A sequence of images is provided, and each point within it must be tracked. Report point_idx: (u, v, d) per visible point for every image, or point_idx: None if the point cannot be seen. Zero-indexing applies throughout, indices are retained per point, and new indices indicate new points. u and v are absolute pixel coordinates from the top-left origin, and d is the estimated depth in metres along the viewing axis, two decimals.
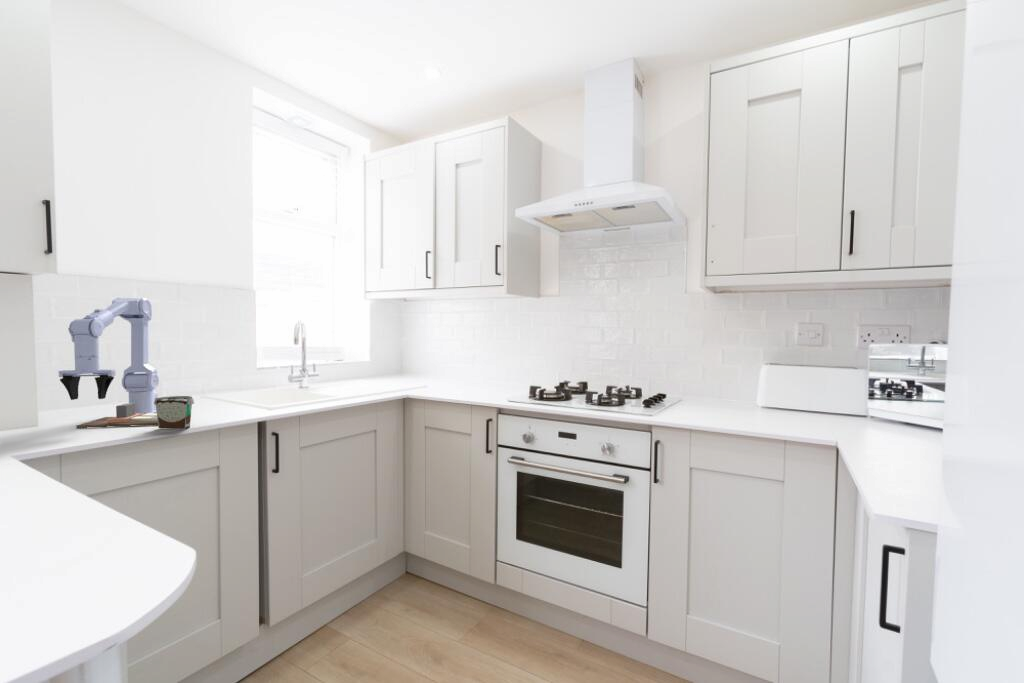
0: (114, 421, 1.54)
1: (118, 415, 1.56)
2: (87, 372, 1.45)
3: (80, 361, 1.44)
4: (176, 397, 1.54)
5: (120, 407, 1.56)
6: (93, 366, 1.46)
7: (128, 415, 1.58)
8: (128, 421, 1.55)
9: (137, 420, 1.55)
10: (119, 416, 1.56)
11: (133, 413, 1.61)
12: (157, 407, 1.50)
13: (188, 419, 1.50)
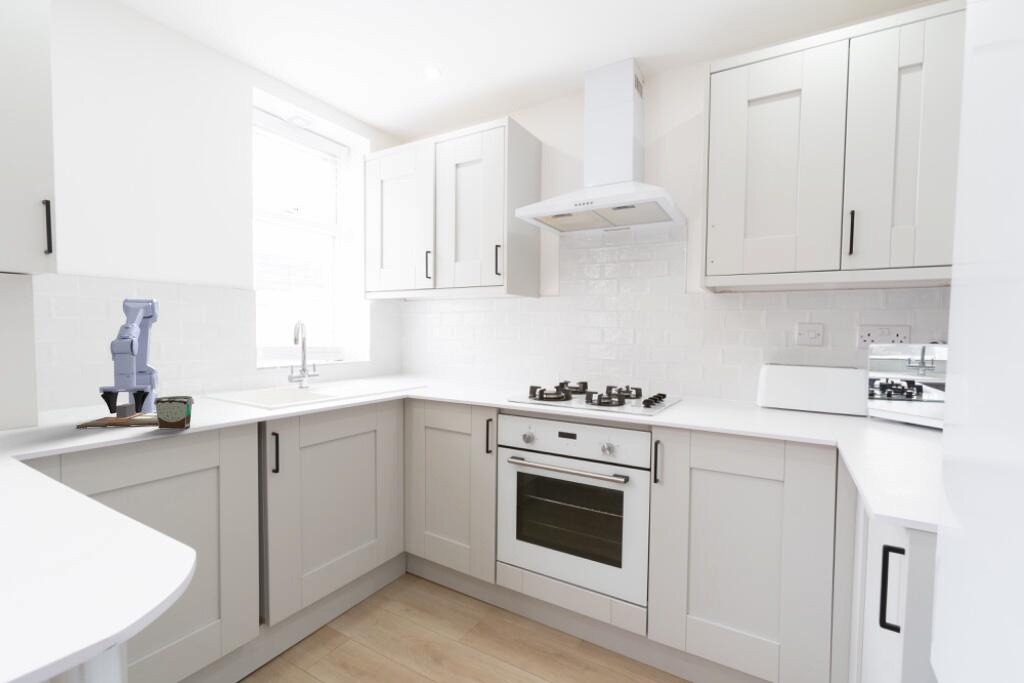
0: (114, 421, 1.54)
1: (118, 415, 1.56)
2: (126, 388, 1.56)
3: (119, 378, 1.56)
4: (176, 397, 1.54)
5: (120, 407, 1.56)
6: (131, 382, 1.58)
7: (128, 415, 1.58)
8: (128, 421, 1.55)
9: (137, 420, 1.55)
10: (119, 416, 1.56)
11: (133, 413, 1.61)
12: (157, 407, 1.50)
13: (188, 419, 1.50)
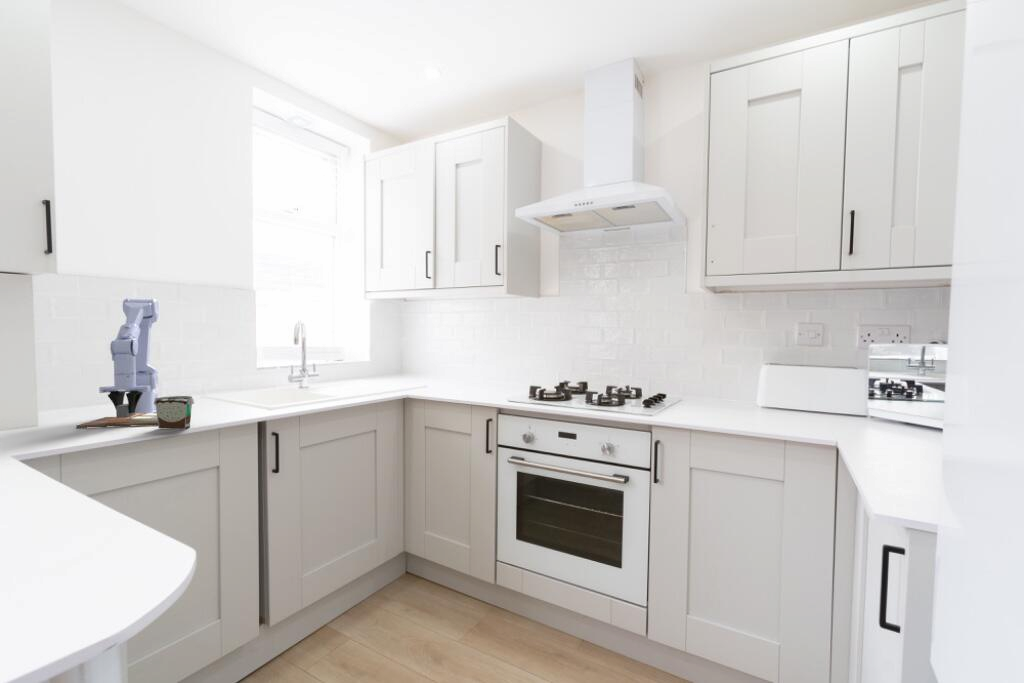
0: (114, 421, 1.54)
1: (118, 415, 1.56)
2: (126, 388, 1.56)
3: (119, 378, 1.56)
4: (176, 397, 1.54)
5: (120, 407, 1.56)
6: (131, 382, 1.58)
7: (128, 415, 1.58)
8: (128, 421, 1.55)
9: (137, 420, 1.55)
10: (119, 416, 1.56)
11: (133, 413, 1.61)
12: (157, 407, 1.50)
13: (188, 419, 1.50)
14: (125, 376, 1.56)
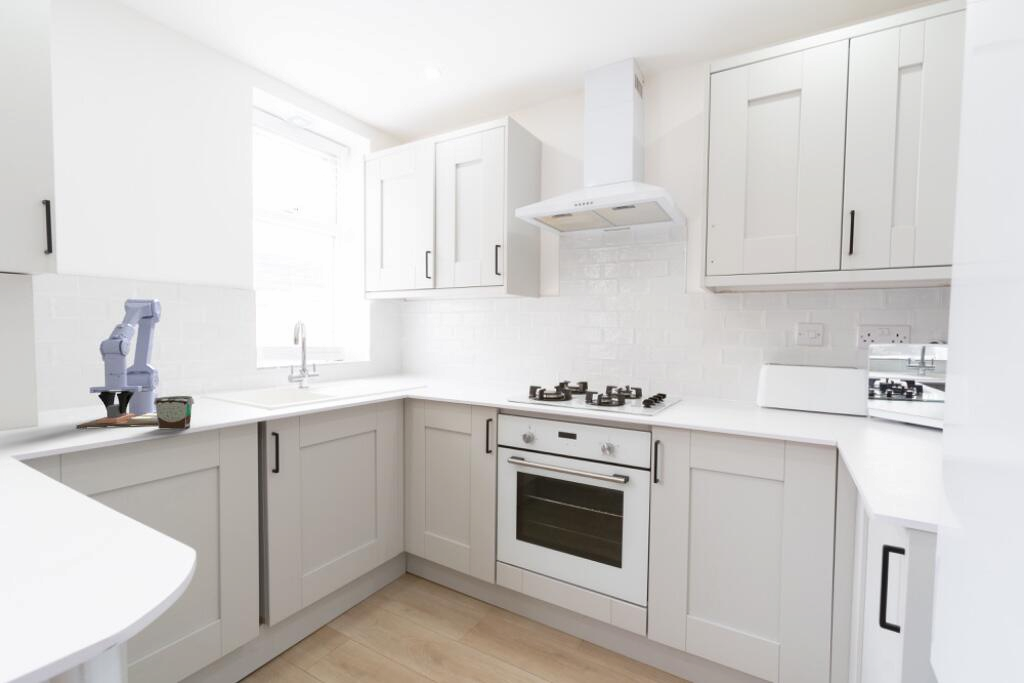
0: (105, 421, 1.53)
1: (108, 415, 1.56)
2: (116, 388, 1.56)
3: (110, 378, 1.55)
4: (176, 397, 1.54)
5: (111, 407, 1.56)
6: (122, 383, 1.57)
7: (119, 415, 1.57)
8: (128, 421, 1.55)
9: (137, 420, 1.55)
10: (110, 416, 1.56)
11: (124, 413, 1.60)
12: (157, 407, 1.50)
13: (188, 419, 1.50)
14: (116, 376, 1.56)
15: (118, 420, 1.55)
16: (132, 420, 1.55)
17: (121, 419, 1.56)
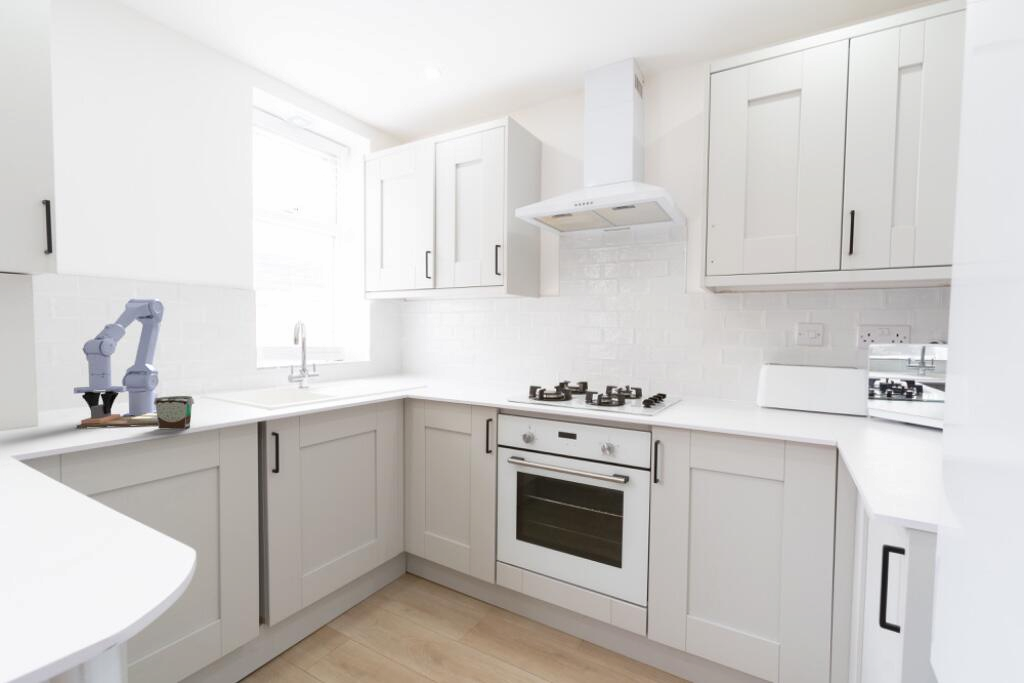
0: (88, 422, 1.53)
1: (92, 416, 1.55)
2: (100, 389, 1.55)
3: (93, 379, 1.54)
4: (176, 397, 1.54)
5: (95, 408, 1.55)
6: (106, 383, 1.56)
7: (103, 416, 1.56)
8: (128, 421, 1.55)
9: (137, 420, 1.55)
10: (94, 417, 1.55)
11: (108, 414, 1.59)
12: (157, 407, 1.50)
13: (188, 419, 1.50)
14: (100, 376, 1.55)
15: (102, 421, 1.54)
16: (132, 420, 1.55)
17: (105, 420, 1.55)
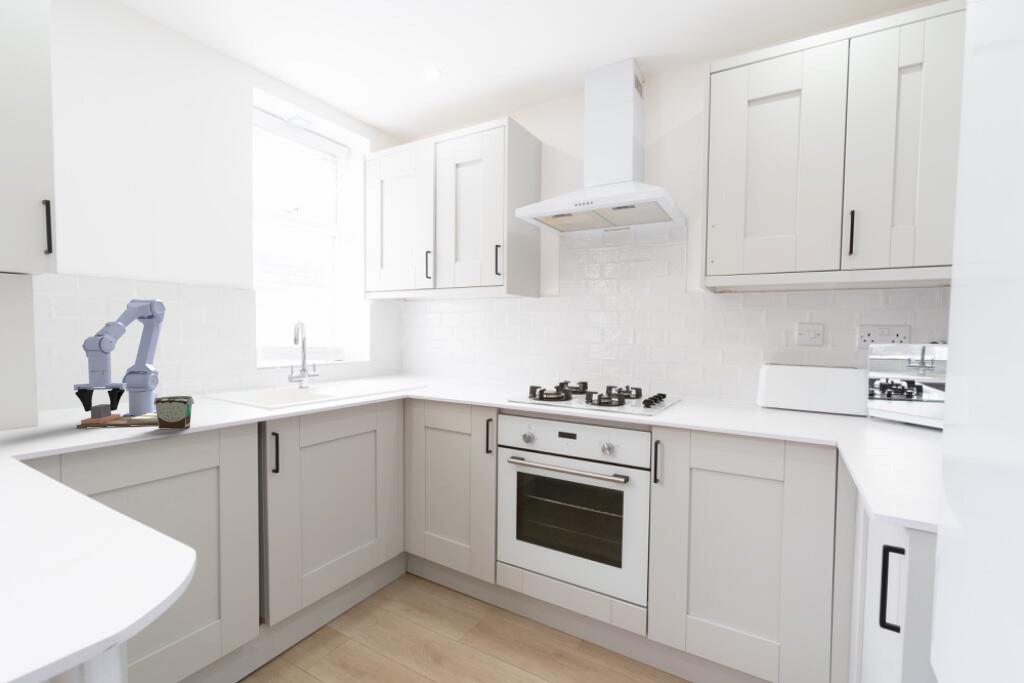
0: (88, 422, 1.53)
1: (92, 416, 1.55)
2: (100, 386, 1.55)
3: (93, 376, 1.54)
4: (176, 397, 1.54)
5: (95, 408, 1.55)
6: (106, 380, 1.56)
7: (103, 416, 1.56)
8: (128, 421, 1.55)
9: (137, 420, 1.55)
10: (94, 417, 1.55)
11: (108, 414, 1.59)
12: (157, 407, 1.50)
13: (188, 419, 1.50)
14: (100, 373, 1.55)
15: (102, 421, 1.54)
16: (132, 420, 1.55)
17: (105, 420, 1.55)
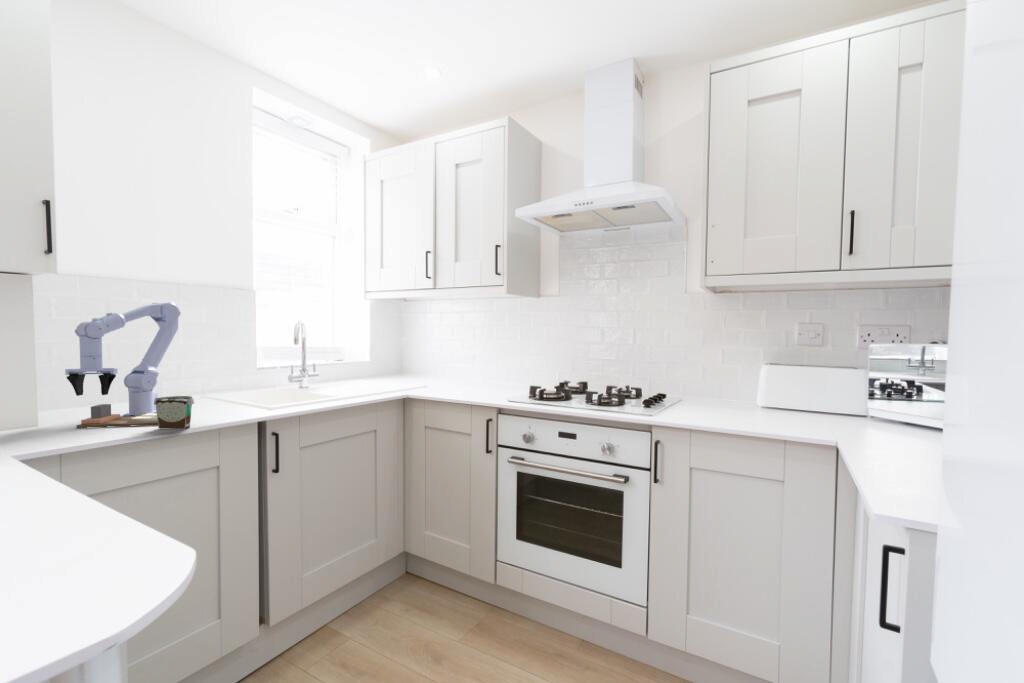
0: (88, 422, 1.53)
1: (92, 416, 1.55)
2: (91, 370, 1.58)
3: (85, 360, 1.57)
4: (176, 397, 1.54)
5: (95, 408, 1.55)
6: (97, 365, 1.59)
7: (103, 416, 1.56)
8: (128, 421, 1.55)
9: (137, 420, 1.55)
10: (94, 417, 1.55)
11: (108, 414, 1.59)
12: (157, 407, 1.50)
13: (188, 419, 1.50)
14: (91, 358, 1.58)
15: (102, 421, 1.54)
16: (132, 420, 1.55)
17: (105, 420, 1.55)
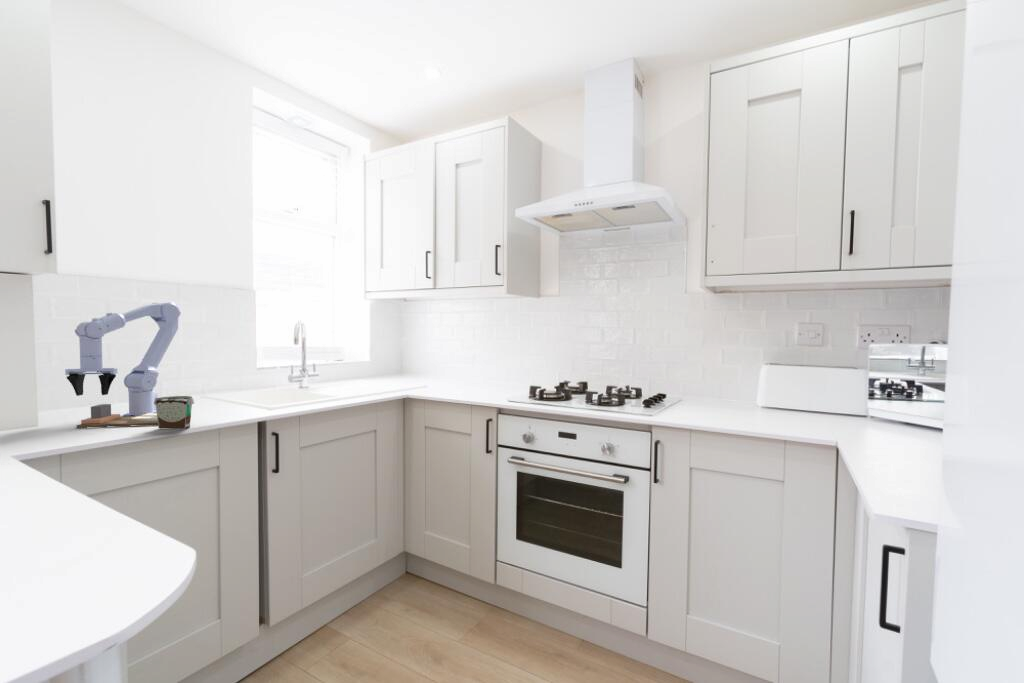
0: (88, 422, 1.53)
1: (92, 416, 1.55)
2: (91, 370, 1.58)
3: (85, 360, 1.57)
4: (176, 397, 1.54)
5: (95, 408, 1.55)
6: (97, 365, 1.59)
7: (103, 416, 1.56)
8: (128, 421, 1.55)
9: (137, 420, 1.55)
10: (94, 417, 1.55)
11: (108, 414, 1.59)
12: (157, 407, 1.50)
13: (188, 419, 1.50)
14: (91, 358, 1.58)
15: (102, 421, 1.54)
16: (132, 420, 1.55)
17: (105, 420, 1.55)
